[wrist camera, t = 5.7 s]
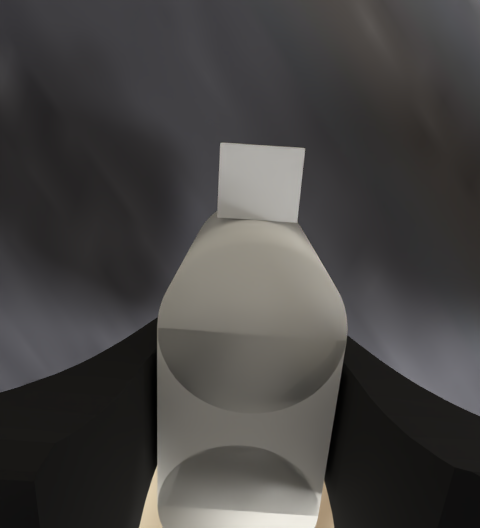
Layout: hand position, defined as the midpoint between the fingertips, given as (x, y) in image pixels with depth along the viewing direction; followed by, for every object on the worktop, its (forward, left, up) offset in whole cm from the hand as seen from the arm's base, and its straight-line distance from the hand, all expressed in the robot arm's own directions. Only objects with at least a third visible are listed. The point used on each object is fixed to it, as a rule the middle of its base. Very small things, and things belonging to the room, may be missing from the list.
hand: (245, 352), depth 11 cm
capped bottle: (0, 0, -2) cm, 2 cm away
